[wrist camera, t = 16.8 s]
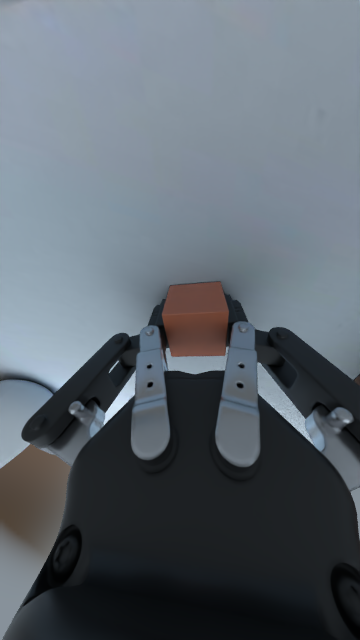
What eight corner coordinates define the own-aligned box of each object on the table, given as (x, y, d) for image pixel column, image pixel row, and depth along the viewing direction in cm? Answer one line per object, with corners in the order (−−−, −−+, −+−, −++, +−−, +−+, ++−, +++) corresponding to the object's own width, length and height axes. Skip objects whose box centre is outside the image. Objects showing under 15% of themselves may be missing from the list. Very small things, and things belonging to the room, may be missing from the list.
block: (169, 285, 13) (161, 314, 10) (220, 281, 12) (229, 311, 9) (176, 323, 15) (171, 357, 12) (219, 321, 15) (225, 356, 12)
